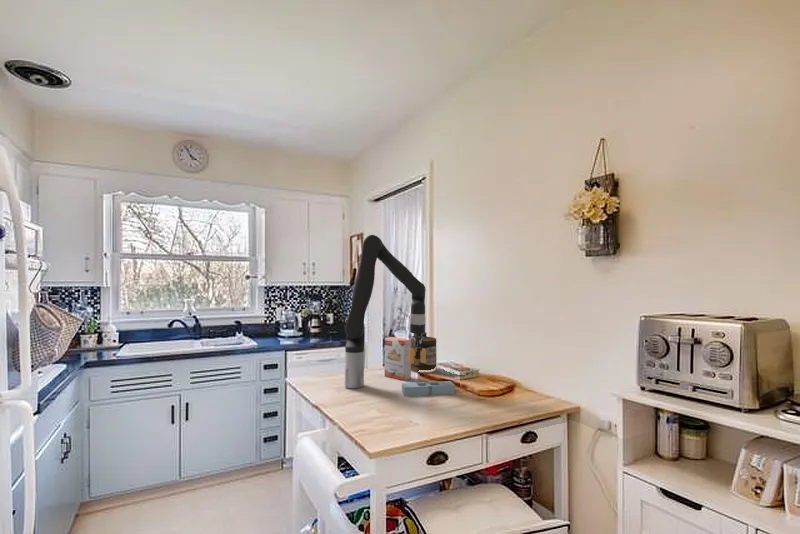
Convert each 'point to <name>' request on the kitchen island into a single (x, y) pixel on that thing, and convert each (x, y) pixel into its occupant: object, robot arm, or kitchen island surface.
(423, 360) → the clip
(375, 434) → the kitchen island surface
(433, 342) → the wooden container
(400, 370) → the cracker box
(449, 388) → the light blue long block
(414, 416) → the kitchen island surface
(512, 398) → the kitchen island surface
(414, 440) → the kitchen island surface
